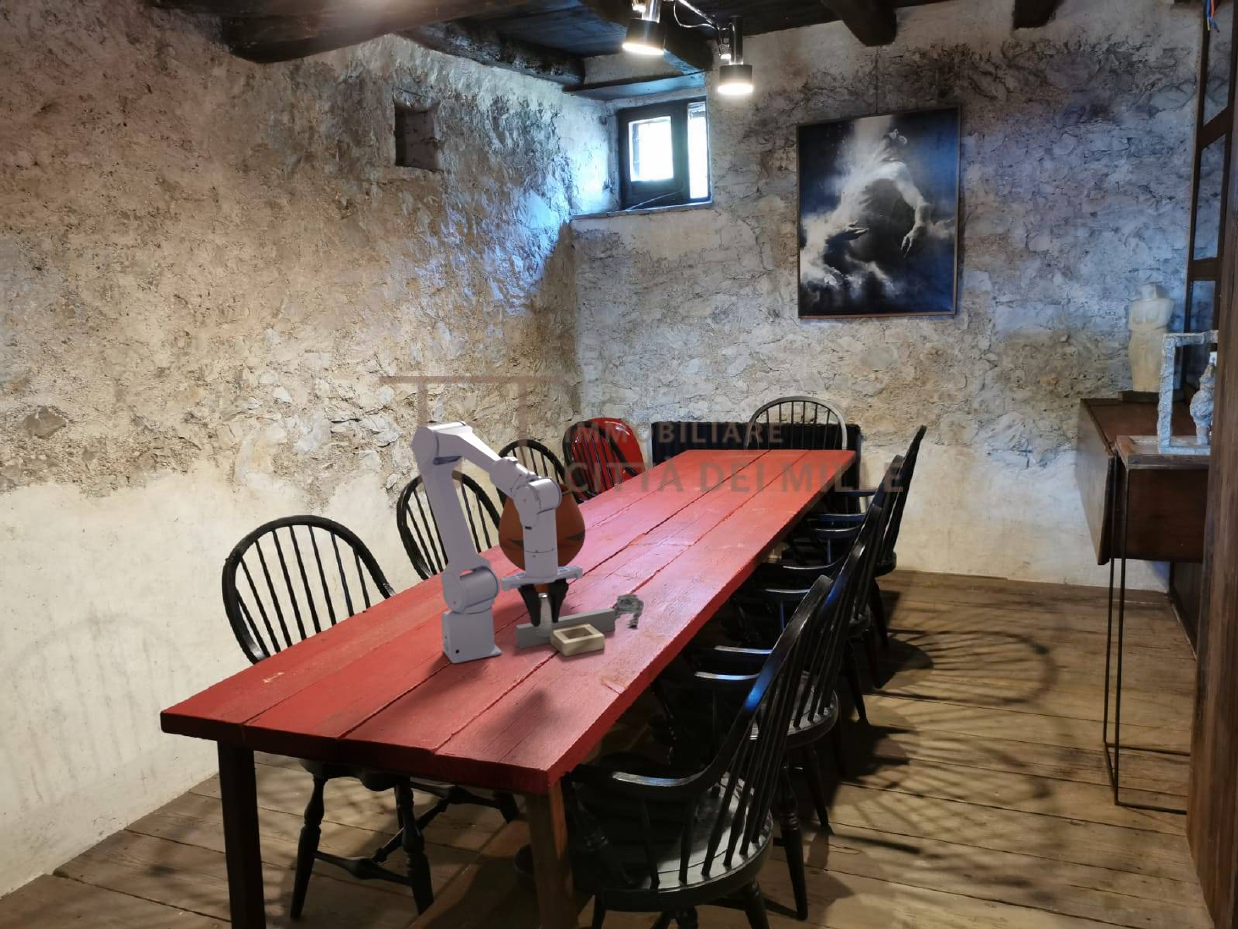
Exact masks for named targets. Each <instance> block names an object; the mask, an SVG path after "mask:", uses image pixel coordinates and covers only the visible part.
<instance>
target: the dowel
mask: <svg viewBox="0 0 1238 929" xmlns="http://www.w3.org/2000/svg"><path fill="white" fill-rule="evenodd" d="M538 616H539V626H538V627H536V628H537V636H540V637H548V636H552V635H553V634H554V626H553V607H552V595H551V594H549V593H540V594H539V597H538Z"/></svg>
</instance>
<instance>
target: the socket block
mask: <svg viewBox="0 0 1238 929" xmlns="http://www.w3.org/2000/svg"><path fill="white" fill-rule="evenodd" d="M605 642H606V640H605V635H604V634H603V632H601V633H600V632H599V631H598V630H596V629H595V628H594V627H592V626H591V625H590V624H588V623H586V624H581V625H575V626H570V627H565V628H560V629H555V630H554V634H553V635H552V636H550V643H549V644H551V645H552V646H553V647H555V648H556V649H557V650H558V651H559V652H560V653H561V654H562V655H564V657H570V656H575V655H579V654H584V653H589V652H593V651H597V650H601V649H602V650H603V649H605V648H606V645H605Z"/></svg>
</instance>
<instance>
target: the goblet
mask: <svg viewBox="0 0 1238 929" xmlns="http://www.w3.org/2000/svg"><path fill="white" fill-rule="evenodd" d="M556 483H557V484H558V485H559V487H560V490H561V495H562V498H561V503H560V505H559V506H558V507H557V508H556V509H555V517H556V537H557V557H558V567H567V566H568V565H569V564H570V563H571V562H572V561H573V560H574V559H575V558H576V557H577V555H578V554H579V553H580V552H581V550H582V548H583V547H584V543H585V538H586V525H585V519H584V517H583V515H582V512H581V510H580V507H579V505H578V503H577V502H576V499H575V496H574V494H573V493H572V492H573V489H572V487H571V486H570V485H568V484H567V483H566V484H565V483H561V482H556ZM497 531H498V532H497V538H498V544H499V547H500V550H501V551H502V553H503V554H504V556H505V557H506V558H507V559H508V560H509V562H510V563H511V564H513V565H514V566H515V567H517V568H518V569H520V570H522V571H523V572H525V556H524V538H523V525H522V524H521V522H520V516H519V513H518V511H517V509H516V507H515V505H514V500H513V499H512V498H511V497H509V496H508V495H507V494H506V500H505V503H504V506H503V509H502V512H501V515H500V519H499V524H498V530H497ZM534 587H536V591H537V592H539V594H540V593H548V587H547V583H544V584H538V585H534ZM566 597H567V594H566V595H565V597H564V599H565V598H566Z"/></svg>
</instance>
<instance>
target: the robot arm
mask: <svg viewBox="0 0 1238 929" xmlns="http://www.w3.org/2000/svg"><path fill="white" fill-rule="evenodd" d="M410 445H411V449H412V452H413V455H414V459H415V461H416V464H417V468H418V471H419V473H420V476H421V479H422V483H423V485H424V488H425V491H426V496H427V498H428V501H429V504H430V507H431V510H432V514H433V516H434V519H435V523H436V526H437V530H438V532H439V536H440V539H441V542H442V545H443V548H444V551H445V554H446V556H447V560H448V563H447V564H446V566H445V568H444V569H443V571H442V572H441V574H440V576H439V577H440V581H441V584H442V597H443V601H444V602H445V604H446V606H447V607H448V608H449V610H448V611H447V610H446V611H444V612H442V613H441V633H442V646H443V648H442V651H443V652H444V653H445V655H446V656H447V658H448V659H449V660H450V662H451V663H452V664H458V663H464V662H468V661H472V660H473V661H474V660H479V659H483V658H489V657H494V656H499V655H502V652H503V651H502V650H501V649H500V648H499V647H498V646H497V645H496V644H495V630H494V628H495V627H494V617H493V616H494V614H493V605H494V604H495V603H496V602H495V600H496V598H497V597H498V596H499V594H500V592H501V591H500V590H502V591H503V592H510V591H511V590H514V589H517V591H518V593H519V595H520V596H521V598H522V600H523V603H524V604H525V606H526V609H527V612H528V615H529V618H530V623H531V624H532V625H533V626H534V627H538V626H539V616H538V597H539V592H537V591H536V587H534V585H538V584H544V583H547V587H548V593H549V594H551V595H552V607H553V622H554V623H558V619H559V617H560V613H561V609H562V605H563V603H564V600H565V598H566V597H565V595H566V596H567V593H568V591H569V589H570V585H569V584H570V583H569V582H567V580H571V579H572V580H574V579H577V580H579V579H583V578H584V574H583V567H582V566H580V565H569V566H568V565H566V566H565V567H558V557H557V537H556V517H555V509H556V508H557V507H558V506H559V505H560V503H561V498H562V495H561V490H560V487H559V485H558V484H557V483H558V482H557V481H555V479H553V477H551V476H544V477H542V476H540V475H537V474H536V473H535V472H534V471H531V470H529V468H527V467H525V466H524V465H522V464H521V463H519V459H518V458H516V457H515V456H503V457H500V456H499V455H498V454H497V453H496V452H495V451H493V450H492V449H491V448H490V447H489V446H488V445H487V444H485V443H484V442H483V441H482V440H480V438H479V437H477V436H476V435H475V431H474V428H473V427H472V426H470V425H468V424H467V423H466V422H465V421H463V420H454V421H451V422H445V423H438V424H431V425H421V426H419V427H417V428H416V430H415V432H414V434H413V438H412V441H411V443H410ZM463 458H464V459H465V460H467V461H468V462H470V463H472V464H473V465H474V466H476V467H477V468H479V469H481V470H482V471H485V472H486V473H488V474H489V475H488V476H489V481H490V483H491V484H492V485H493V486H495V487H496V488H497V489H499V490H500V491H501V492H502V493H504V494H505V495H506V496H507V495H508V496H509V497H511V498H512V499H513V500H514V505H515V507H516V509H517V511H518V513H519V516H520V522H521V524H522V525H523V538H524V556H525V571H523V572H519V573H515V574H512V575H509V576H504V577H503V576H502V577H500V579H499V577H498V574H497V573H496V572H495V570H494V569H493V567H492V565H491V562H490V560H489V559H488V558H487V557H485V556H483V555H481V554H479V553H477V550H476V548H475V545H474V540H473V538H472V535H471V531H470V528H469V526H468V522H467V519H466V516H465V513H464V510H463V507H462V505H461V504H462V502H461V501H460V497H459V495H458V491H457V489H456V485H455V482H454V480H453V477H452V476H453V474H452V473H453V472H454V470H455V467H457V466H458V465H459V464H460V462H461V461H462V460H463ZM467 571H468V572H469V571H471V572H469V573H465V574H463V573H464V572H467ZM564 597H565V598H564Z"/></svg>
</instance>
